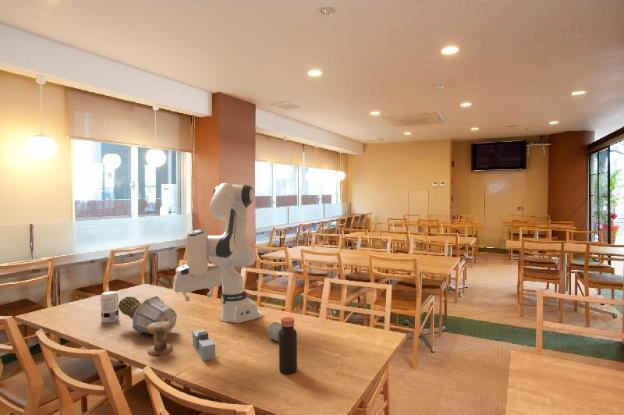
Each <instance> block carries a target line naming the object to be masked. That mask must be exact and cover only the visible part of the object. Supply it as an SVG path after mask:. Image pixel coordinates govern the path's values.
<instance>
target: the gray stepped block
mask: <svg viewBox="0 0 624 415" xmlns="http://www.w3.org/2000/svg"><path fill="white" fill-rule="evenodd" d="M205 331H206V330H205V329H204V328H203V329H198V330H193V331H192V346H193V348H195V350H196V352H197V354H198V356H199V357H200V359H201V360H202V362H206V361H210V360H215V359H216V344H215V342H214V341H213V339H212V338H211V337H210V338H209V337H208V339H204V340H199V349H198V333H199V332H205Z"/></svg>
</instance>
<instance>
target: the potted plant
mask: <svg viewBox="0 0 624 415" xmlns="http://www.w3.org/2000/svg"><path fill="white" fill-rule="evenodd" d="M118 305H119V306H118V307H119V312H121V313H122V315H125V316H127V317H129V318H130V320H132V324H131V325H132V329H133V330H134V331H135V332H137V334H144V333H147V334H149V335H153V336H154V332H150V331H148V330H147V326H148V325H150V324H152V323H155V322H161V321H167V322H171V323H172V328H170V329H169V330H166V336H167V335H168V334H169V333H170V332H172V329H173V328H174V327H175V326H176V324H177V317H178V313H176V312H175V310H174V309H173V308H171V307H169V306H168V305H166V304H165V303H164V300H162V299H161V298H160V296H157V295H156V296H152V297H149V298H147V299H144V300H143V302H140V300H139V299H137V297H134V296H125V297H122V299H120V300H119V301H118Z"/></svg>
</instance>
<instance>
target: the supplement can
mask: <svg viewBox="0 0 624 415" xmlns="http://www.w3.org/2000/svg"><path fill="white" fill-rule="evenodd" d="M118 306H119V293H118V292H117V291H116V290H109V291H104V292H102V293H101V295H100V318H101V322H102V323H103V324H111V323H115V322H117V321H118V320H119V318H120V313H119V312H120V309H119V307H118Z"/></svg>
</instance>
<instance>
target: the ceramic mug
mask: <svg viewBox="0 0 624 415" xmlns="http://www.w3.org/2000/svg"><path fill="white" fill-rule="evenodd" d="M281 329H282V326H281V322H278V321H273V322H271V323H270V324H269V325H268V327H267V331H266V332H267V333H266V334H267V336H268V337H269V338H270V339H272V340H274V341H276V342H278V343H279V332H280V330H281Z"/></svg>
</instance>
